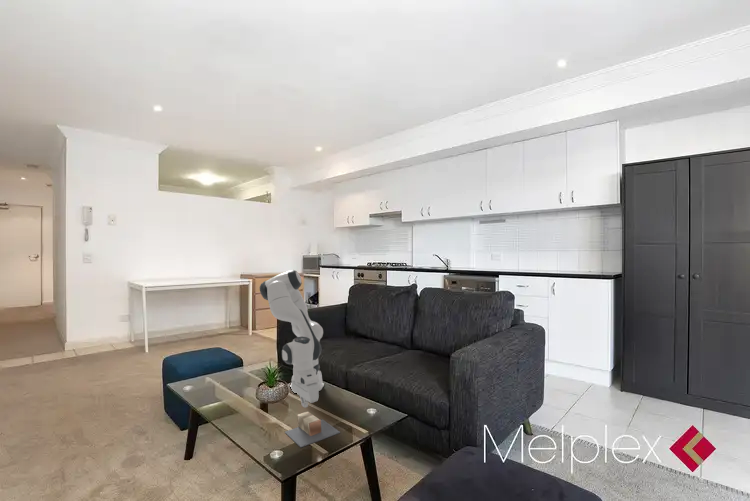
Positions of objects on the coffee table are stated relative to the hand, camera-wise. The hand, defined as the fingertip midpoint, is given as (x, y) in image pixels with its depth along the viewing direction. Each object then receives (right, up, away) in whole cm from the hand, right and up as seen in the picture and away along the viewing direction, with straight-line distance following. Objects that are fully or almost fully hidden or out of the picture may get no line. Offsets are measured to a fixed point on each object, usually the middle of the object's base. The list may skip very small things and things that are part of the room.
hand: (304, 406), depth 160 cm
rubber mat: (+4, -9, -5) cm, 11 cm away
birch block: (-1, -6, +2) cm, 7 cm away
